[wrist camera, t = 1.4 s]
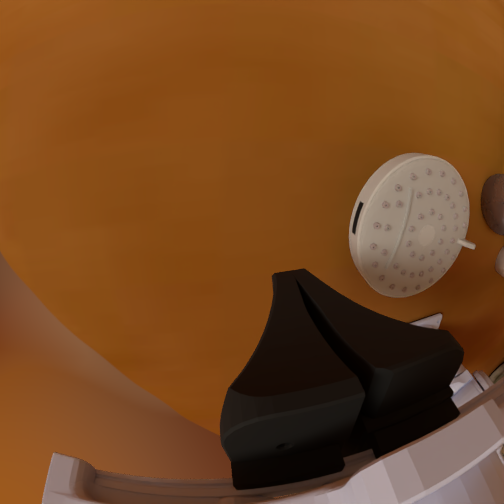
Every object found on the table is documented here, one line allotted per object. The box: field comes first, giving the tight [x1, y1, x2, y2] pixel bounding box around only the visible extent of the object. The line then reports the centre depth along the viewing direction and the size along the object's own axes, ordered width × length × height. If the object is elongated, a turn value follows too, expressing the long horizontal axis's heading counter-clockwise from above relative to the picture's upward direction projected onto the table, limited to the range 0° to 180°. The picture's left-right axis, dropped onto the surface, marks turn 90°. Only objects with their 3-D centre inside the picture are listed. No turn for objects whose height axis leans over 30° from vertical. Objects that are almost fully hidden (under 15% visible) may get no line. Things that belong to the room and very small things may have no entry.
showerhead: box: [349, 153, 476, 298], centre depth 17 cm, size 9×7×10 cm
